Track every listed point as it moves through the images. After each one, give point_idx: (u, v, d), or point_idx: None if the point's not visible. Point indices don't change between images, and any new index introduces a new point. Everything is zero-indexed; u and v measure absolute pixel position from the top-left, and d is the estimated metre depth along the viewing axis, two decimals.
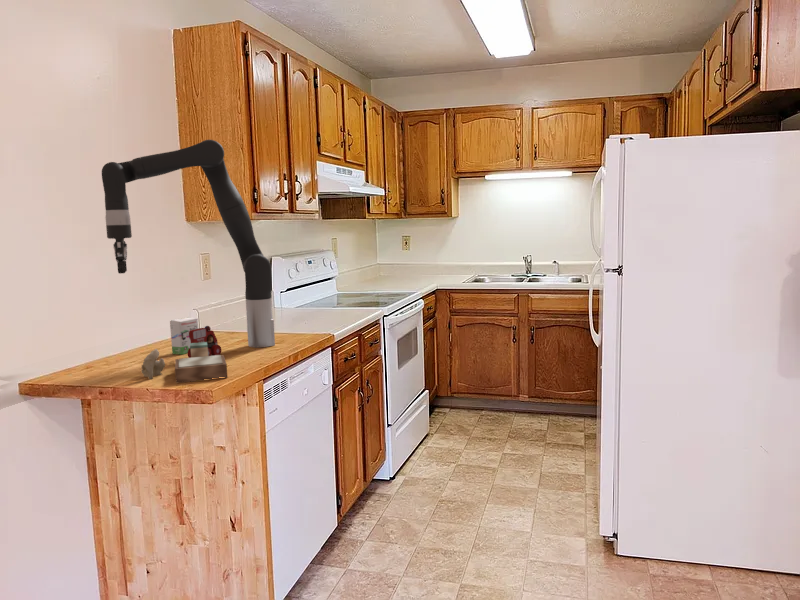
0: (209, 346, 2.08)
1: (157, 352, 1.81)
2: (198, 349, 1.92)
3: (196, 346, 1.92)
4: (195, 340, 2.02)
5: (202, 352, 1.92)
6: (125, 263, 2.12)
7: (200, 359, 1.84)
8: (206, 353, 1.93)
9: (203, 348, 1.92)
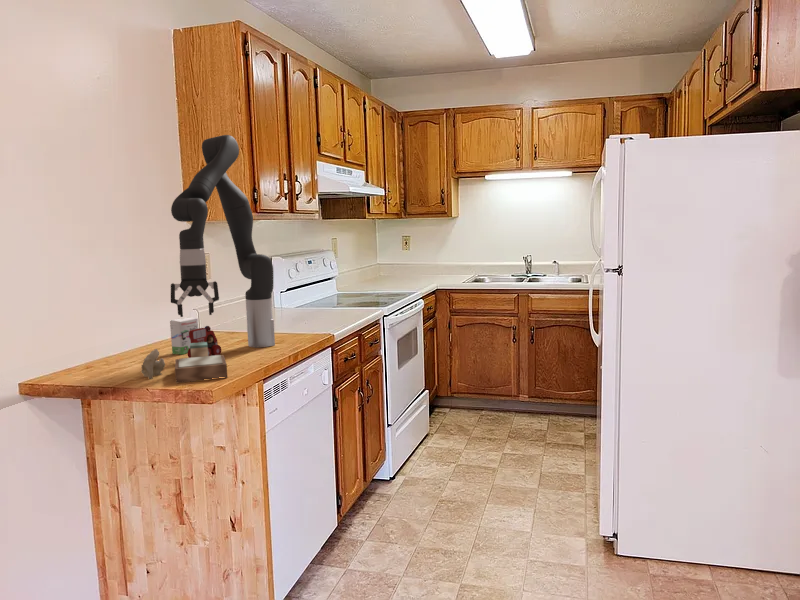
0: (209, 346, 2.08)
1: (157, 352, 1.81)
2: (198, 349, 1.92)
3: (196, 346, 1.92)
4: (195, 340, 2.02)
5: (202, 352, 1.92)
6: None
7: (200, 359, 1.84)
8: (206, 353, 1.93)
9: (203, 348, 1.92)
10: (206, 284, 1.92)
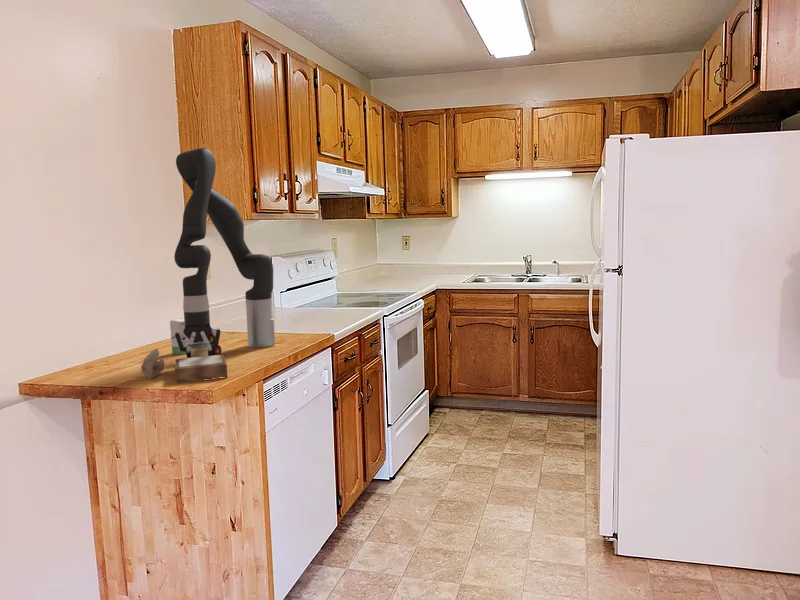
0: None
1: (157, 352, 1.81)
2: (198, 349, 1.92)
3: (196, 346, 1.92)
4: None
5: (202, 352, 1.92)
6: None
7: (200, 359, 1.84)
8: (206, 353, 1.93)
9: (203, 348, 1.92)
10: (209, 330, 1.94)
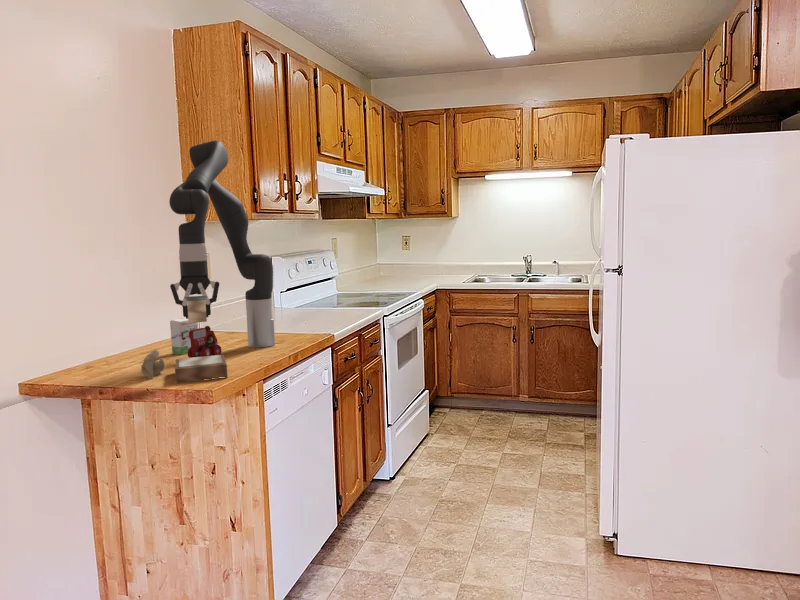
0: (209, 346, 2.08)
1: (157, 352, 1.81)
2: (195, 302, 1.78)
3: (193, 298, 1.78)
4: (195, 340, 2.02)
5: (200, 305, 1.78)
6: None
7: (200, 359, 1.84)
8: (204, 306, 1.79)
9: (200, 301, 1.78)
10: (207, 282, 1.80)
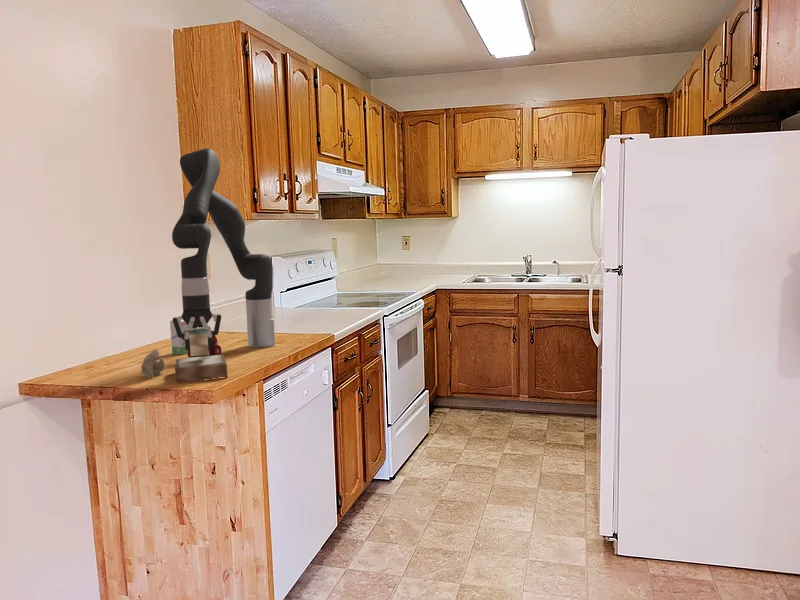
0: None
1: (157, 352, 1.81)
2: (197, 335, 1.79)
3: (195, 332, 1.79)
4: None
5: (202, 338, 1.79)
6: None
7: (200, 359, 1.84)
8: (206, 340, 1.80)
9: (202, 334, 1.79)
10: (210, 315, 1.81)
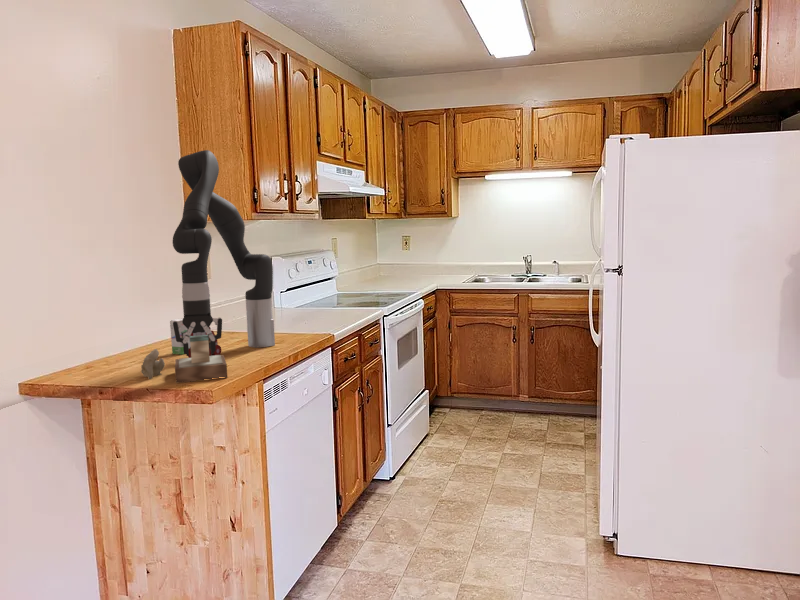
0: (209, 346, 2.08)
1: (157, 352, 1.81)
2: (198, 342, 1.79)
3: (196, 339, 1.79)
4: None
5: (203, 345, 1.80)
6: None
7: None
8: (207, 347, 1.80)
9: (203, 341, 1.80)
10: (210, 320, 1.81)
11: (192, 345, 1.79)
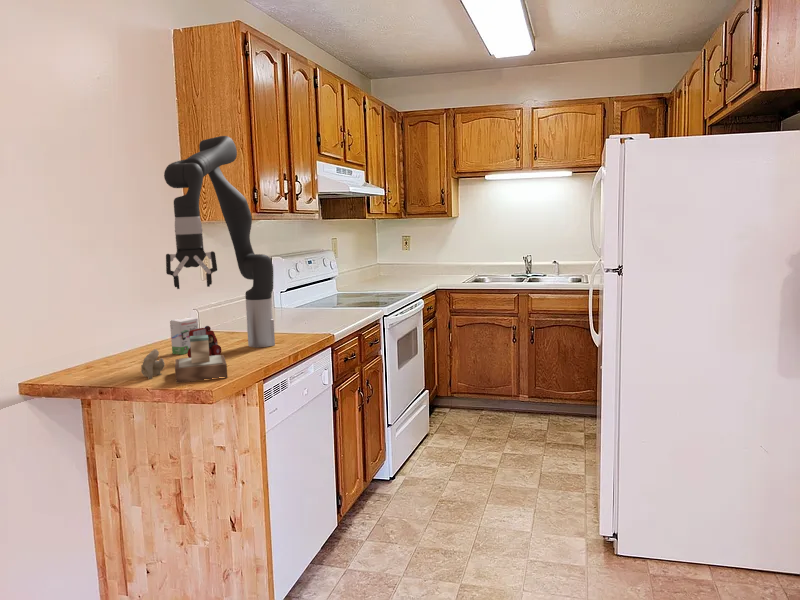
0: (209, 346, 2.08)
1: (157, 352, 1.81)
2: (198, 342, 1.79)
3: (196, 339, 1.79)
4: None
5: (203, 345, 1.80)
6: None
7: None
8: (207, 347, 1.80)
9: (203, 341, 1.80)
10: (203, 254, 1.83)
11: (192, 345, 1.79)
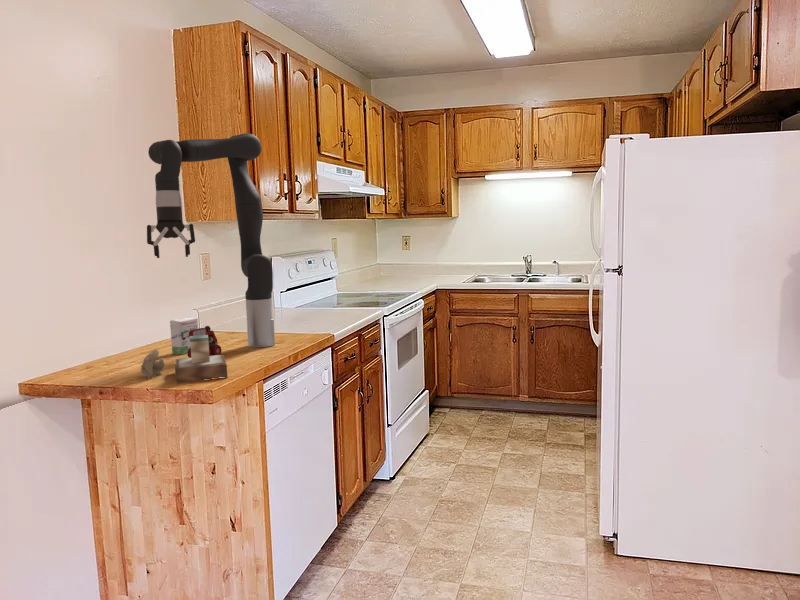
0: (209, 346, 2.08)
1: (157, 352, 1.81)
2: (198, 342, 1.79)
3: (196, 339, 1.79)
4: None
5: (203, 345, 1.80)
6: None
7: None
8: (207, 347, 1.80)
9: (203, 341, 1.80)
10: (182, 226, 1.95)
11: (192, 345, 1.79)
